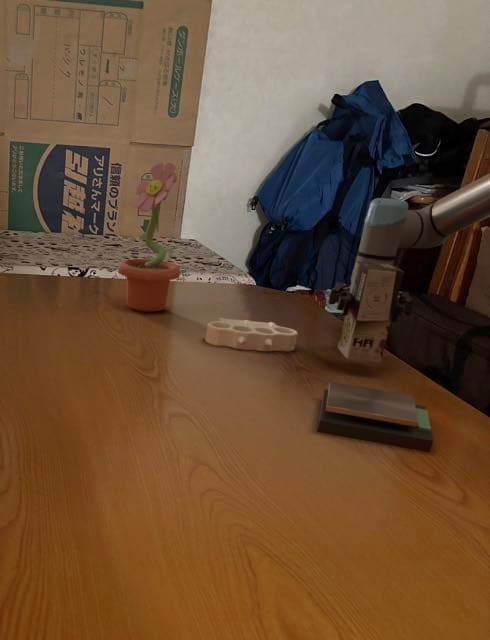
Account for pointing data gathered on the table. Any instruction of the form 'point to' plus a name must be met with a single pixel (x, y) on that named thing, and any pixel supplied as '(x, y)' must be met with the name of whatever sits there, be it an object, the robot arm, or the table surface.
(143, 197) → the decorative flower
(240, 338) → the knuckle duster
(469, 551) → the table surface
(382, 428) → the scale
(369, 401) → the scale pan
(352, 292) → the coffee box
